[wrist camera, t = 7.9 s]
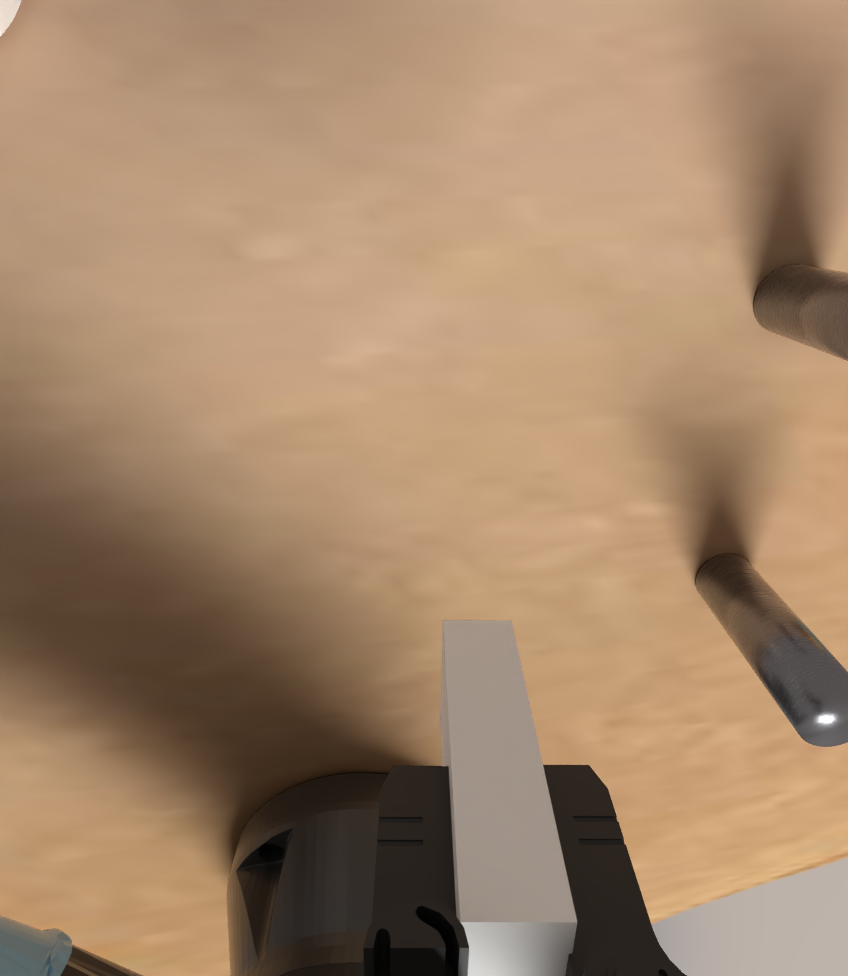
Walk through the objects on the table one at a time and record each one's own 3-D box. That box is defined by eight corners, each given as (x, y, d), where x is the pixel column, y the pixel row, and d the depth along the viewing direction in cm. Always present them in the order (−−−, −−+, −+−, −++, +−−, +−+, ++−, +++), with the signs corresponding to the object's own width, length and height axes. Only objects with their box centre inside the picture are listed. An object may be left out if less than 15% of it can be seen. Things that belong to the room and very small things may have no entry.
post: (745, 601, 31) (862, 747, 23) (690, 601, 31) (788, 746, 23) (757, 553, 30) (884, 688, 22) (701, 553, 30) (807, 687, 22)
